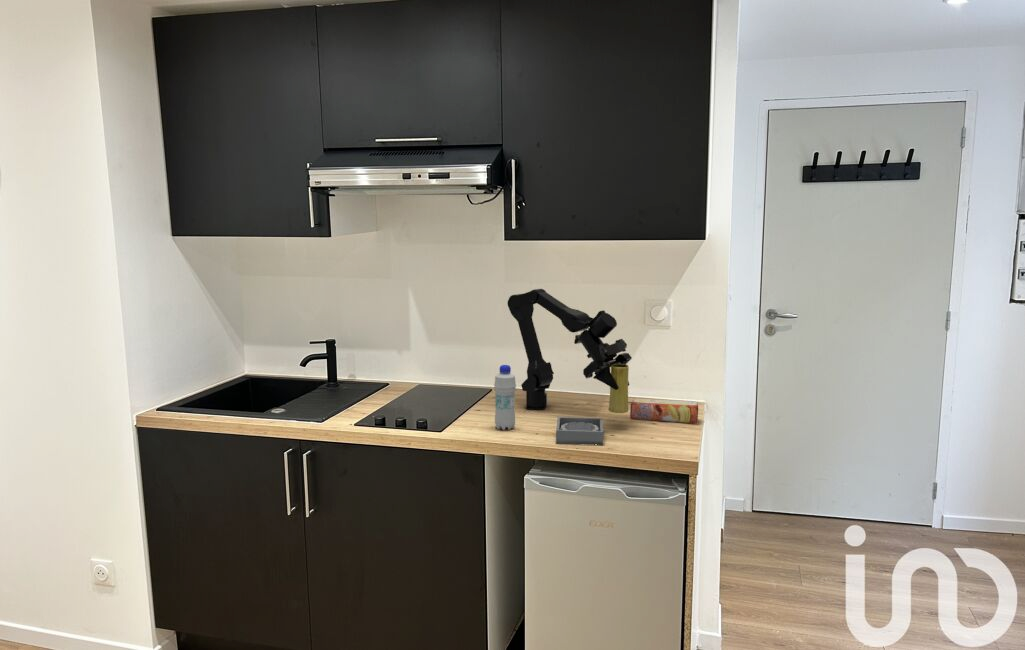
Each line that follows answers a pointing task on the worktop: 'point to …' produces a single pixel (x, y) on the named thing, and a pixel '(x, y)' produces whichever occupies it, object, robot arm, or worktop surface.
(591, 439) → the tray
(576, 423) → the collar
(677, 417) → the snack package
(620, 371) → the vase
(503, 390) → the bottle
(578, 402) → the worktop surface
